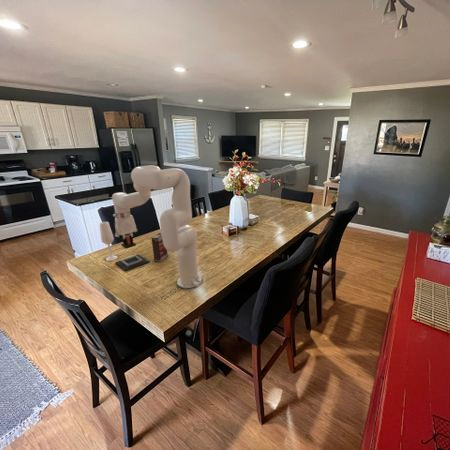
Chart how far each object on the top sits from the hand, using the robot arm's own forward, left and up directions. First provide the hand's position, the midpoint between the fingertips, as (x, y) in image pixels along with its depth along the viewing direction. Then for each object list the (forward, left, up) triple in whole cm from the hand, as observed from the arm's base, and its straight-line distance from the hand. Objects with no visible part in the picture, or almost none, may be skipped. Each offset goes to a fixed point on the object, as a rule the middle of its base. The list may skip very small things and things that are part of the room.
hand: (128, 243), depth 143 cm
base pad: (0, 0, -13) cm, 13 cm away
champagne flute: (+16, +6, -14) cm, 22 cm away
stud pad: (0, 0, -2) cm, 2 cm away
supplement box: (-8, -15, -14) cm, 22 cm away
